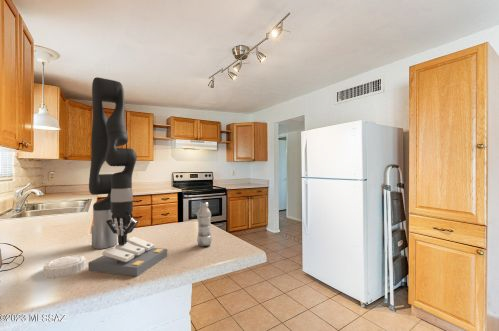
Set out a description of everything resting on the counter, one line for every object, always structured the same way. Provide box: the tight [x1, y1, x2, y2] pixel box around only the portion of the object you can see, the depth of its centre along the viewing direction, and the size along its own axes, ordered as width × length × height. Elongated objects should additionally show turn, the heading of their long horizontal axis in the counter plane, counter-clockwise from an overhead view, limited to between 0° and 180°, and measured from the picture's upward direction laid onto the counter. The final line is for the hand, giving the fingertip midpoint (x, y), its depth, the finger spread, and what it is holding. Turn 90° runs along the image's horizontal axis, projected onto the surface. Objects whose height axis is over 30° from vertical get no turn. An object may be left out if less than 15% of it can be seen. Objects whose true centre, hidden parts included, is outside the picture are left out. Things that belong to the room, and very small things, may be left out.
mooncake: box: [43, 255, 87, 279], centre depth 86 cm, size 12×12×4 cm
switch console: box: [87, 247, 168, 277], centre depth 91 cm, size 20×18×4 cm
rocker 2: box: [127, 235, 155, 251], centre depth 97 cm, size 10×4×1 cm, turn 77°
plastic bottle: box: [196, 201, 213, 247], centre depth 110 cm, size 6×7×20 cm
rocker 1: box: [102, 247, 135, 262], centre depth 86 cm, size 10×4×1 cm, turn 77°
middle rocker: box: [114, 242, 145, 255], centre depth 91 cm, size 10×4×1 cm, turn 77°
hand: (122, 244), depth 92 cm, fingers closed
